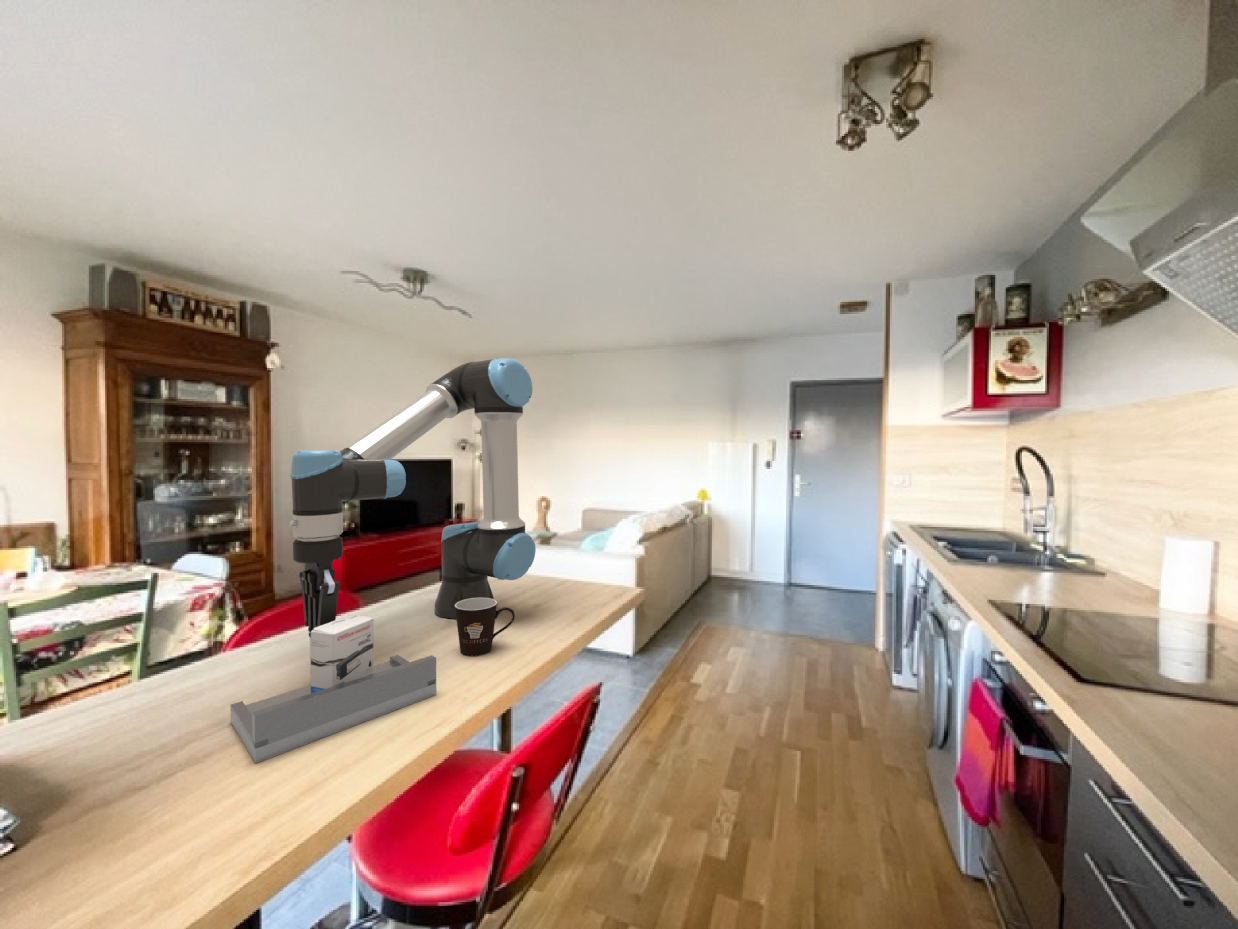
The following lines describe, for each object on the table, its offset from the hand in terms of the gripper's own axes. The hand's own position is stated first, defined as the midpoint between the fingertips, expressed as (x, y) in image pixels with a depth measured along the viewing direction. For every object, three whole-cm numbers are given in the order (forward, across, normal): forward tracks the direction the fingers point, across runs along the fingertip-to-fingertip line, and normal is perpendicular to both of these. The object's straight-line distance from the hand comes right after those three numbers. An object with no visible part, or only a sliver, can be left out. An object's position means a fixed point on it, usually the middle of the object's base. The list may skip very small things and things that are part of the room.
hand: (320, 669), depth 89 cm
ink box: (+2, +9, 0) cm, 9 cm away
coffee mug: (+4, +7, +29) cm, 30 cm away
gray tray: (+3, +10, 0) cm, 10 cm away
